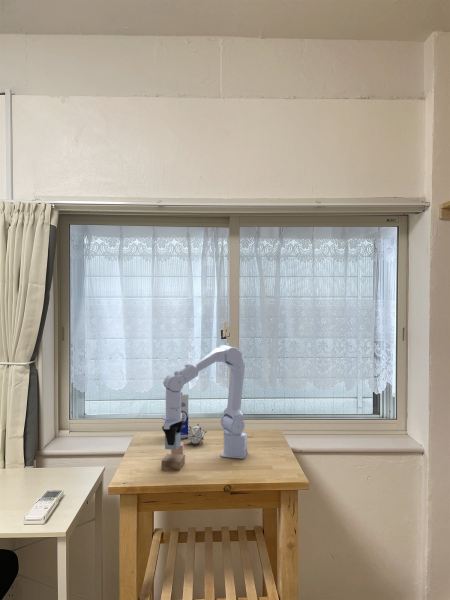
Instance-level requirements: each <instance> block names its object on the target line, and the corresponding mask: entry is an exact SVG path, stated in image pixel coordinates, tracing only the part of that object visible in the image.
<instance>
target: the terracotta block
mask: <svg viewBox="0 0 450 600" xmlns="http://www.w3.org/2000/svg"><path fill="white" fill-rule="evenodd" d="M180 442H181V446H180V447H179V448H178V449H177V450H170V451H171V453H170V454H179V455H185V452H184V450H185V448H184V447H185V446H184V443H185V442H184V441H180Z"/></svg>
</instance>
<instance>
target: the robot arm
mask: <svg viewBox="0 0 450 600" xmlns="http://www.w3.org/2000/svg"><path fill="white" fill-rule="evenodd" d="M242 356H243V352H241V350H239V349H238V347H235V346H229V345H226V344H221V345H219V346H218V347H215V348H214V349H213V350H212V351H210V353H208V354H206V355H205V356H203V357H202V358H201V359H200V360H198V361H196V362H195V363H185V364H184V365H183V367H182V368H180V369H179V370H175V371H173V373H169V374H168V375H166V376H165V378H164V380H163V381H162V383H163V386H164V388H165V416H164V417H163V418H162V421H164V423H163V425H162V426H161V429H162V431H163V433H164V436H165V435H166V439H167V443H168V445H174V442H175V434H176V432H177V433H180V432H181V428H182V426H183V424H184V421H182V413H181V393H182V390H183V388H184V386H185V385H186V384H188V383H189V382H191V381H192V380H194V379H195V378H196V377H198V376H199V373H200V372H201V371H202V370H204V369H206V368H208V367H209V366H211V365H213V364H215V363H217V362H218V363H225V364H226V365H227V366H228V367H229V369H230V377H229V387H228V396H227V407H226V408H224V410H223V415H222V417H221V419H220V426H221V427H222V428H223V451H222V453H221V454H220V457H222V458H231V459H232V458H233V459H241V460H242V459H243V460H244V459H245V458H246V455H247V454H248V434H247V433H245V432H244V430H245V426H246V425H245V420H244V418H245V417H244V414H243V412H242V409H241V406H242V398H243V397H242V396H243V389H244V388H243V387H244V377H245V366H246V365H245V362H244V359H243V357H242Z"/></svg>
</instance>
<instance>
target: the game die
mask: <svg viewBox="0 0 450 600" xmlns="http://www.w3.org/2000/svg"><path fill="white" fill-rule="evenodd" d="M188 428H189V429H188V435H187V437H185V438H188V440H189V441H190V442H191V443H192V444H193V447H194V446H195V445H198V444H199V443H201V444H203V443H204V442H203V440H205V439H204V437H205V435H206V433H207V432H208V431H205V430H204V429H202V427H200V426H199V423H197V425H194V426H191V425H188Z"/></svg>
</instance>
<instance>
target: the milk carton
mask: <svg viewBox="0 0 450 600" xmlns="http://www.w3.org/2000/svg"><path fill="white" fill-rule="evenodd" d="M181 413H182V421H184V424H183V426H182V428H181V432H180V440H186V439H188V438H185V437H187V435H188V433H189V394H183V392H181ZM188 440H189V439H188Z"/></svg>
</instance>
